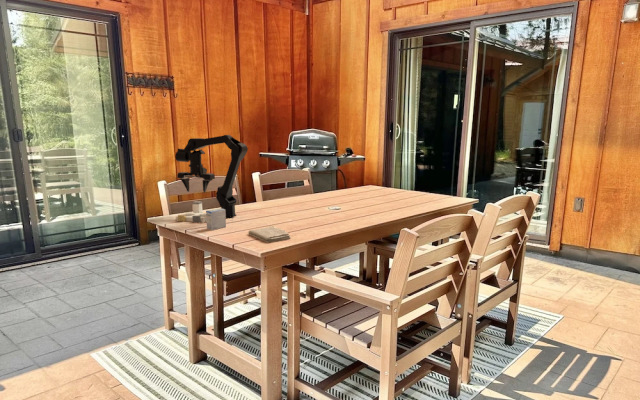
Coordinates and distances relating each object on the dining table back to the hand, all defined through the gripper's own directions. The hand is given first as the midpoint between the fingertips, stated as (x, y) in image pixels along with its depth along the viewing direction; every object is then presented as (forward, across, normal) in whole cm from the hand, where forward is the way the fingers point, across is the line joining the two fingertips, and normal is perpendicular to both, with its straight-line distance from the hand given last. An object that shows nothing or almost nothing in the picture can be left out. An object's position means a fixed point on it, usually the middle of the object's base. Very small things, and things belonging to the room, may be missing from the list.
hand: (196, 192), depth 221 cm
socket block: (+12, -4, +10) cm, 16 cm away
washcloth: (+11, -52, +35) cm, 64 cm away
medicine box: (+12, -23, +25) cm, 36 cm away
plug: (+12, 0, 0) cm, 12 cm away
